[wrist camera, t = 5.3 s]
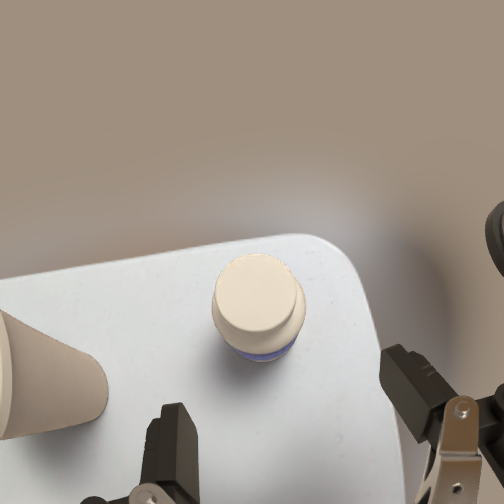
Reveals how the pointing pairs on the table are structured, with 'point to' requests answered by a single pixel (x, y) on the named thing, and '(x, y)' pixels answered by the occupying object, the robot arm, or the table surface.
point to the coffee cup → (45, 382)
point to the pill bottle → (258, 307)
